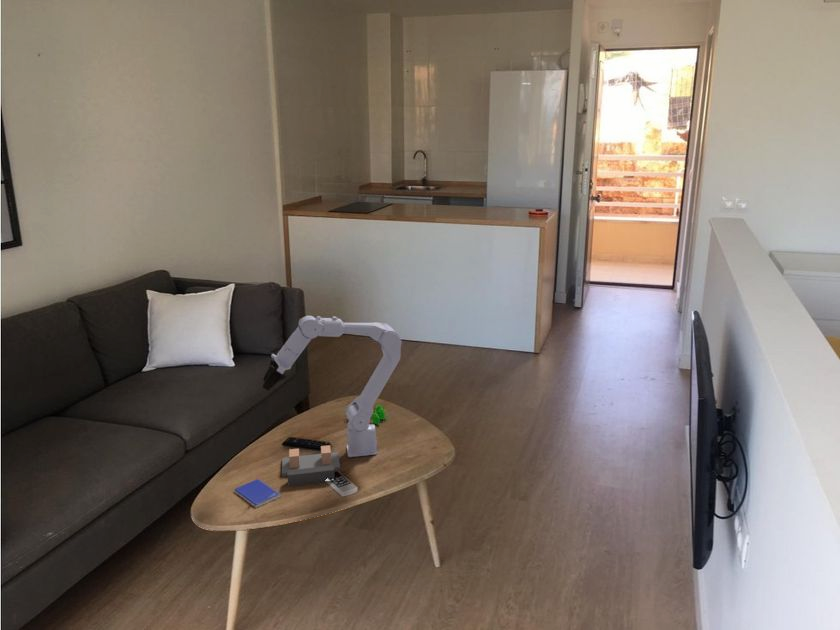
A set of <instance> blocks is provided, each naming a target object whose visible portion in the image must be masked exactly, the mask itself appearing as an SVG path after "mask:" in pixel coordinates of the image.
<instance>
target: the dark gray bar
mask: <svg viewBox="0 0 840 630" xmlns="http://www.w3.org/2000/svg"><path fill="white" fill-rule="evenodd" d="M335 475H336V474H335V470H334V465H331V466H322V467H313V468H304V469H295V470H288V475H287V483H288V484H287V485H288V487H295V486H304V485H313V484H320V483H322V484H323V483H326V482H325V480H326V479H327V478H335V479H336V476H335Z"/></svg>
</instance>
